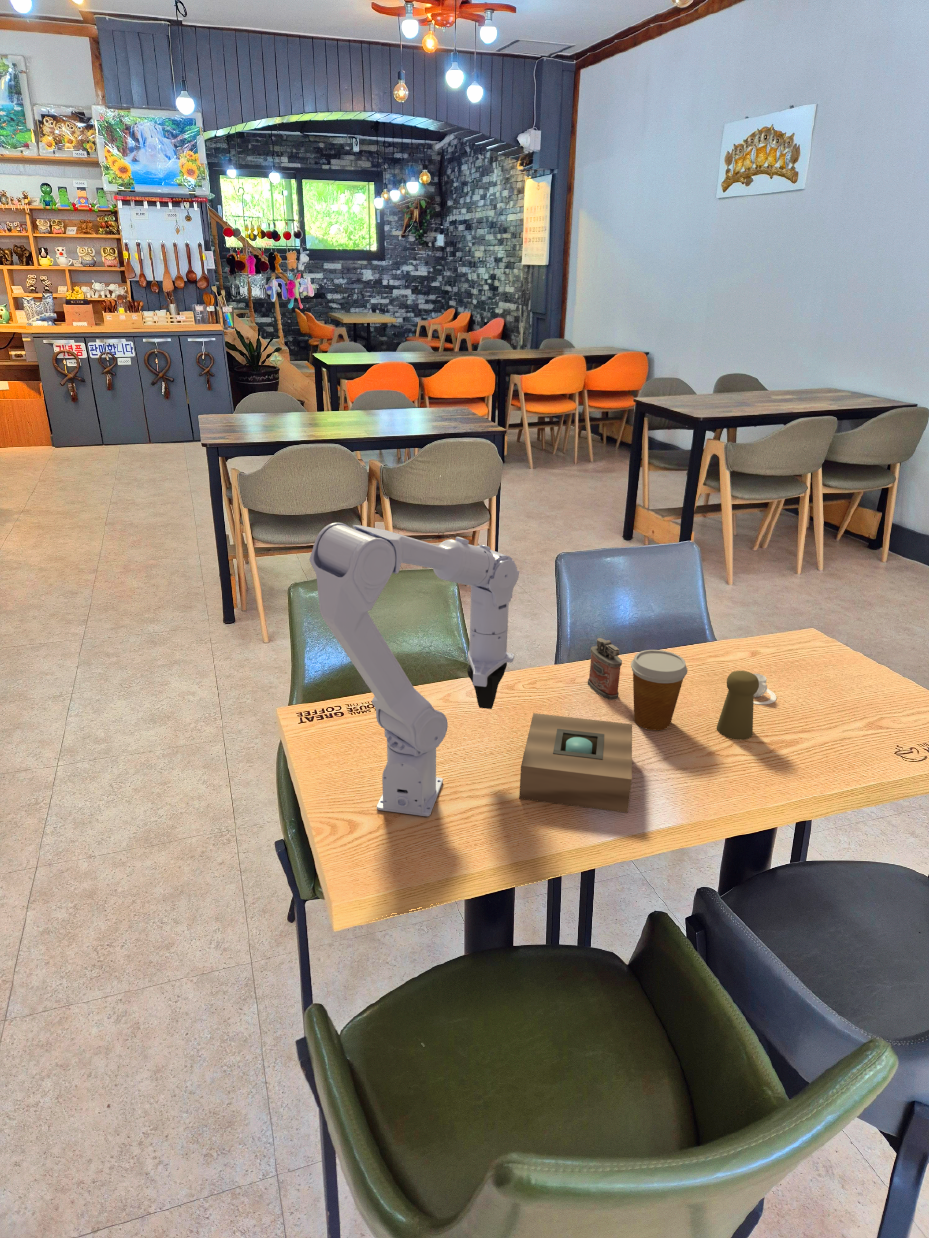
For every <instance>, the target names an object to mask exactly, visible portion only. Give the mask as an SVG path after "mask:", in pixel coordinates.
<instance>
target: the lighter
mask: <svg viewBox="0 0 929 1238" xmlns="http://www.w3.org/2000/svg"><path fill="white" fill-rule="evenodd" d="M589 652H590V664H589V674H588V675H589V676H588V678H587V685H588V687H590V689H591V690H592V691H594V692H595V693H596V694H597V695H598V696H600V697H602V698H604V699H606V700H610V701H615V700H617V699H619V694H620V693H619V686H620V675H621V666H622V664H623V660H622V658H620V657H619V655H620V649H619V648H618V647H617V646H615V645H614V644H613V643H612V641H611V640H609V639H607V640H606V639H604V638H603V637H602V638H601V637H598V638H597V639H596V645H594V646H593V645H592V646H591V647H590V651H589Z"/></svg>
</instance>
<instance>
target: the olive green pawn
mask: <svg viewBox="0 0 929 1238" xmlns="http://www.w3.org/2000/svg"><path fill="white" fill-rule="evenodd" d="M754 674H755V673H753V672H750V671H747V670H734V671H732V672H731V673H729V674H728V676H727V679H726V688H727V694H726V697H725V700H724V703H723V706H722V710H721V713H720V715H719V719H718V720H717V721H718V722H717V725H716V731H717V733H719V734H720V735H721V736H723V737H724V738H728V739H730V740H736V741H743V740H748V739H751V738H752V737H753V734H754V704H753V703H754V702H755V701H754V700H755V699H754V698H755V697H754V694H755V693H756V692H757V690H758V688H759V681H758V678H757V677H756V676H755V675H754Z"/></svg>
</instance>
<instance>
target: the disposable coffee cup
mask: <svg viewBox="0 0 929 1238" xmlns="http://www.w3.org/2000/svg"><path fill="white" fill-rule="evenodd" d="M686 665H687V664H686V660H685V659H684V658H683V657H682V656H680V655H678V654H676V653H674V652H672V651H667V650H664V649H663V650H661V649H660V650H659V649H645V650H641V651H639V652H637V653H636V654H635V655H634V657H633V659H632V660H631V663H630V668H631V671H632V688H633V689H632V691H633V720H634V723H635V724H636V725H637V726H639V727H641V728H642V729H646V730H649V731H663V730H667V729H668V728H669V727H670V726H671V723H672V719H673V716H674V712H675V709H676V706H677V703H678V699H679V695H680V692H681V688H682V685H683V682H684V679H685V678H686V675H688V670H689V669H688V668H687V666H686Z"/></svg>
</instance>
